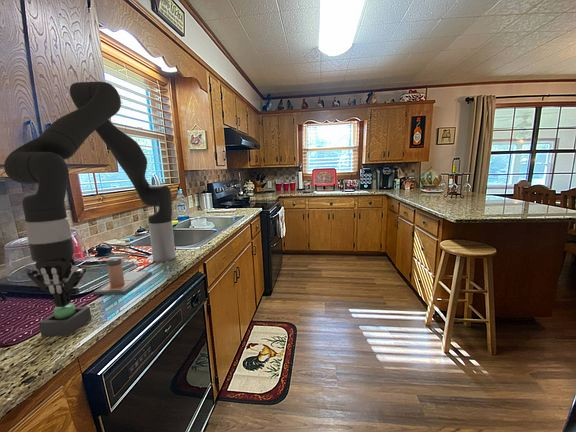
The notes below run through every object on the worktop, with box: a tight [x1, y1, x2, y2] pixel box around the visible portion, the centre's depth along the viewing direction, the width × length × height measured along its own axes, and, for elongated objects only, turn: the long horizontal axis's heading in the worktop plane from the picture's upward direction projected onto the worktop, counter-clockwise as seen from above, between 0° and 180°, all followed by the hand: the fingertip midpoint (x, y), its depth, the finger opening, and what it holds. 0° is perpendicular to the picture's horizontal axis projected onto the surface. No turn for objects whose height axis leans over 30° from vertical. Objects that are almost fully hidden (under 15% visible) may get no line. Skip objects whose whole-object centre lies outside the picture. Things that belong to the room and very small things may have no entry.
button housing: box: [38, 306, 92, 337], centre depth 63 cm, size 7×7×4 cm
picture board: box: [93, 270, 153, 295], centre depth 87 cm, size 16×10×1 cm, turn 0°
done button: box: [52, 302, 76, 319], centre depth 62 cm, size 4×4×2 cm
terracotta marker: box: [106, 257, 125, 288], centre depth 83 cm, size 4×4×9 cm
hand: (63, 305), depth 62 cm, fingers closed
